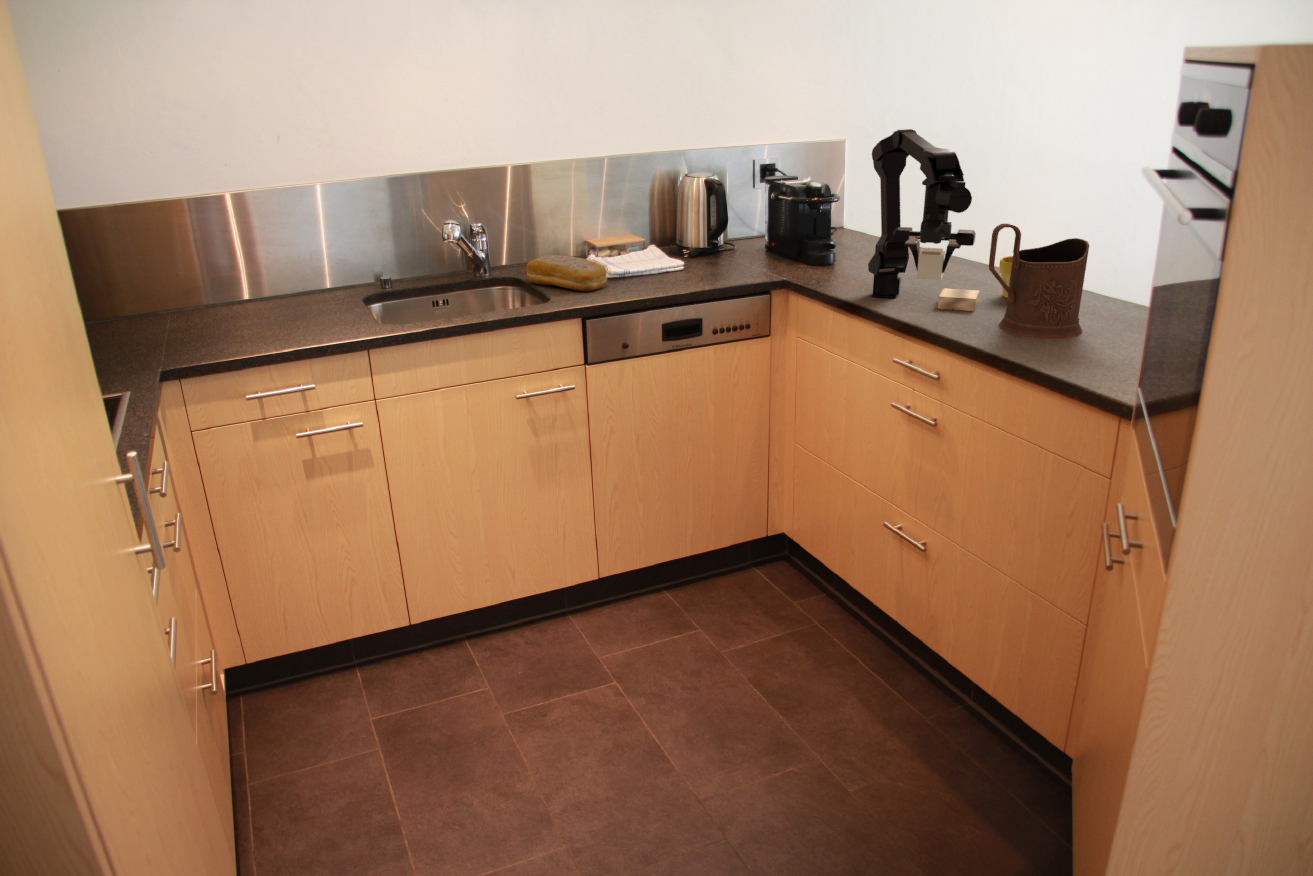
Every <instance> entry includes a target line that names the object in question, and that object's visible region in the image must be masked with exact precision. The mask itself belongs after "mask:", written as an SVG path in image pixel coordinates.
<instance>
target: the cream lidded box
mask: <svg viewBox="0 0 1313 876" xmlns="http://www.w3.org/2000/svg"><path fill="white" fill-rule="evenodd" d="M945 255H946V250H944V249H943V248H941V247H939V248H938V247H937V248H936V247H924V248H923V249H920V253H919V259H918V271H917V270H916V279H917V280H931V281H932V280H933V281H941V280H942V279H943V276H944V273H942V270H943V263H944V259H945Z"/></svg>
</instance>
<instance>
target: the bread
mask: <svg viewBox="0 0 1313 876" xmlns="http://www.w3.org/2000/svg"><path fill="white" fill-rule="evenodd" d="M607 274H608V271H607V269H606V267H605V266H604V265H602V264H599V263H597V262H595V261H591V260H588V259H587V258H582V257H576V256H570V255H559V254H557V255H556V254H549V255H543V256H540V257H537V258H534V259H532V260H531V261H529V262H528V263H527V264H526V277H527V280H528V281H529V282H530V283H533V284H535V285H541V286H554V287H555V286H557V287H560V288H564V289H570V290H572V291H578V292H585V293H587V292H595V291H599V290H601V289H603V288H604V287H605V286H606V285H607V282H608V277H607Z"/></svg>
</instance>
